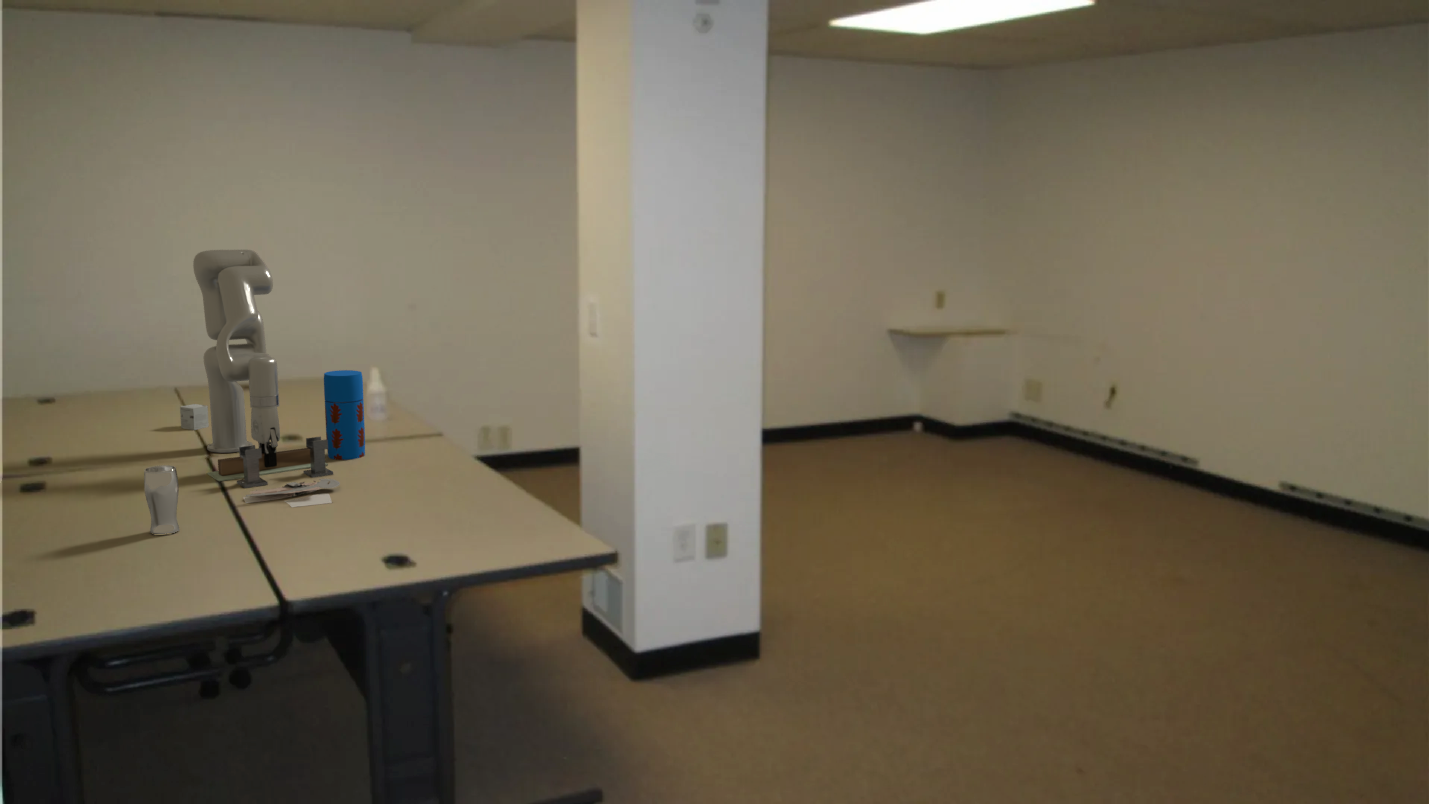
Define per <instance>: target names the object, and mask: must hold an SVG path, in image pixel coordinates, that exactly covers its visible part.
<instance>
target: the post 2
mask: <svg viewBox="0 0 1429 804" xmlns="http://www.w3.org/2000/svg"><path fill="white" fill-rule="evenodd" d="M305 445H306V447H305V448H309V449H310V463H311V468H310V469H304V470H303V475H306V476H308V477H310V478H314V479H315V478H319V477H327V476H333V475H334V471H332V470H330V469H328V468H326V466H327V465H326V466H325V463H326V450H327V449H328V440H327V439H322V437H321V436H313V437H306V438H305Z"/></svg>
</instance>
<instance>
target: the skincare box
mask: <svg viewBox="0 0 1429 804" xmlns="http://www.w3.org/2000/svg"><path fill="white" fill-rule="evenodd" d="M208 408H209V406H208V405H204V404H198V403H192V404H186V405H181V406H180V407H179V413H180V414H179V415H180V428H181V429H185V430H192V431H196V430H197V431H198V430H201V429H205V428H209V426H210V425H209V409H208Z"/></svg>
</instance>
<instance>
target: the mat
mask: <svg viewBox="0 0 1429 804" xmlns="http://www.w3.org/2000/svg"><path fill="white" fill-rule="evenodd" d="M325 466H329V463H327V462H325ZM307 469H311V463H310V464H303V465H296V466H288V467H281V468H274V469H267V470H260V471H259V475H260V476H264V475H266V476H267V475H272V474H278V473H279V474H280V473H285V472H292V471H300V470H307ZM206 475H208V476H210V477H211V478H213V479H214V480H216V481H218V482H224V481H232V480H240V479H244V473H239V474H231V475H224V476H222V475H220V474H219V471H218V470H217V471H209V472H207V473H206Z"/></svg>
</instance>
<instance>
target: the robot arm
mask: <svg viewBox="0 0 1429 804" xmlns="http://www.w3.org/2000/svg"><path fill="white" fill-rule="evenodd" d="M192 262H193V265H192V266H193V273H194V277H195V279H196V282H197V284H198V286H199V288H200V291H201V293H202V295H201V296H202V302H203V312H204V313H203V314H204V320H205V321H204V323H205V329H206V333H207V336H208V337H209V338H210V339H211V340H214V341H216V345H215V346H211V347H209V348H208V349H207V350H205V352H204V353H203V364H204V368H205V373H206V379H207V383H208V384H207V385H208V395H209V396H208V397H209V407H210V408H209V409H210V422H211V424H210V425H211V437H212V439H211V441H212V443H209V444H208V445H207V448H206V449H207V451H208V452H210V453H211V452H212V453H217V454H218V453H221V454H222V453H223V454H224V453H225V454H226V453H227V454H229V453H239V447H243V446H251V445H253V442H251V441H250V440H247V424H246V408H245V406H246V405H245V393H244V389H243V386H242V385H241V384H240V383H239V382H245V381H246V382H247V381H248V390H249V403H250V404H249V405H250V406H249V407H250V408H251V413H250V423H251V424H250V434H251V435H250V437H251V438H252V439H253V440H254V441H256V442H258V448H261V451H262V454H264V462H265V467H266V468H267V467H274V466H277V457H276V452H278V451H277V447H278V446H279V444H278V442H279V441H280V439H281V430H280V419H279V412H278V408H279V407H280V394H279V376H278V375H279V374H278V373H279V371H278V361H277V360H276V358H274V357H272V356H271V355H270V354H268V353H267V347H266V345H267V344H266V337H265V336H266V335H265V327H264V321H263V317H262V314H261V313H260V311H259V310H258V307H257V303H256V299H255V296H259V295H260V296H261V295H262V296H264V295H269V294H270V293H271V292H272V291H273V287H274V282H273V277H272V273H271V271H270V269H269V268H268V266H267V264H266V263H265V261H264V260H263V259H262V258H261V256H260V255H259V254H258V253H257V252H256V251H254V250H252V249H208V250H203V251H200V252H198V253H196V254H195V256H194V258H193V261H192ZM234 340H235V341H236V340H245V341H246V343H238V344H237V343H235V344H234V343H231V344H229V343H230V341H234Z"/></svg>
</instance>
